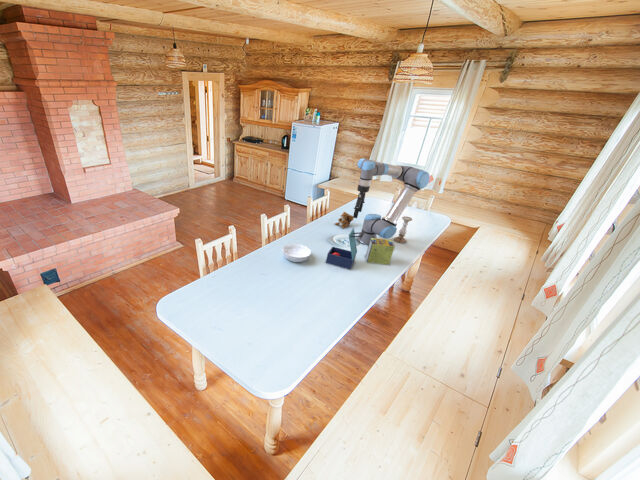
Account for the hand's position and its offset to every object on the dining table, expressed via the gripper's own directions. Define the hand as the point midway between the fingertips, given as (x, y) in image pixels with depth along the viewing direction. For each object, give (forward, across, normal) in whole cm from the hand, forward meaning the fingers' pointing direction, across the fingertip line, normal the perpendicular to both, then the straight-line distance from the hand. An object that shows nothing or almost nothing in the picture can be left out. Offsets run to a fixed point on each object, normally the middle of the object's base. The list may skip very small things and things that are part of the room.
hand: (357, 214), depth 224 cm
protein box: (+33, -3, +21) cm, 39 cm away
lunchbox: (+33, +15, -2) cm, 36 cm away
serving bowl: (+33, +27, -32) cm, 53 cm away
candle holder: (+33, -48, +32) cm, 66 cm away
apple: (+28, +17, -6) cm, 34 cm away
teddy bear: (+33, -53, -16) cm, 64 cm away
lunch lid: (+16, +15, +3) cm, 22 cm away
